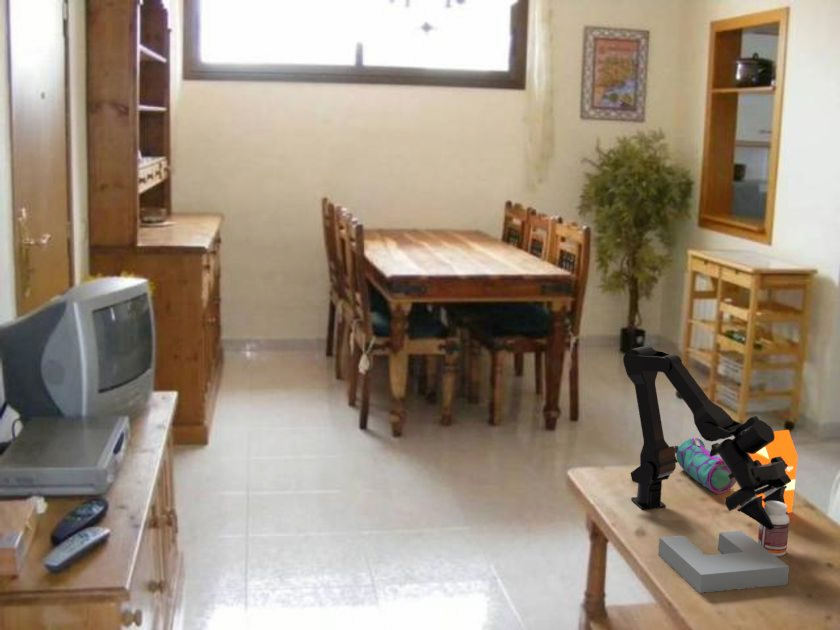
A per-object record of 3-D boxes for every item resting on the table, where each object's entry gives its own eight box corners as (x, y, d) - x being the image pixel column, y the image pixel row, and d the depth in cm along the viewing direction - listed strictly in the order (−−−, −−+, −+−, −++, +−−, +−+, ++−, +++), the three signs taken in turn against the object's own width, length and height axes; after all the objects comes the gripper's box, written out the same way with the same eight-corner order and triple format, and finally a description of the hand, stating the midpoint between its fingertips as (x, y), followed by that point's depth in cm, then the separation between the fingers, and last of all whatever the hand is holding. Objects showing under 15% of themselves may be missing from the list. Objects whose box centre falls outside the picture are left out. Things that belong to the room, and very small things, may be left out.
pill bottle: (792, 553, 219) (797, 506, 217) (774, 559, 216) (779, 512, 214) (768, 542, 224) (773, 497, 222) (750, 548, 221) (755, 502, 219)
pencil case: (671, 468, 271) (674, 434, 269) (701, 467, 272) (704, 433, 271) (706, 497, 251) (709, 461, 249) (738, 495, 252) (742, 459, 250)
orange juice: (792, 512, 242) (800, 434, 238) (763, 517, 239) (772, 438, 235) (769, 500, 249) (777, 424, 245) (741, 505, 246) (749, 428, 242)
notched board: (658, 554, 217) (659, 537, 216) (739, 547, 221) (741, 530, 221) (699, 593, 200) (701, 574, 199) (787, 584, 204) (789, 566, 204)
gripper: (741, 455, 212) (783, 519, 206) (787, 438, 224) (828, 499, 218) (707, 478, 220) (746, 542, 214) (753, 461, 232) (792, 521, 226)
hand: (780, 525), depth 218 cm, fingers closed on pill bottle, 6 cm apart
